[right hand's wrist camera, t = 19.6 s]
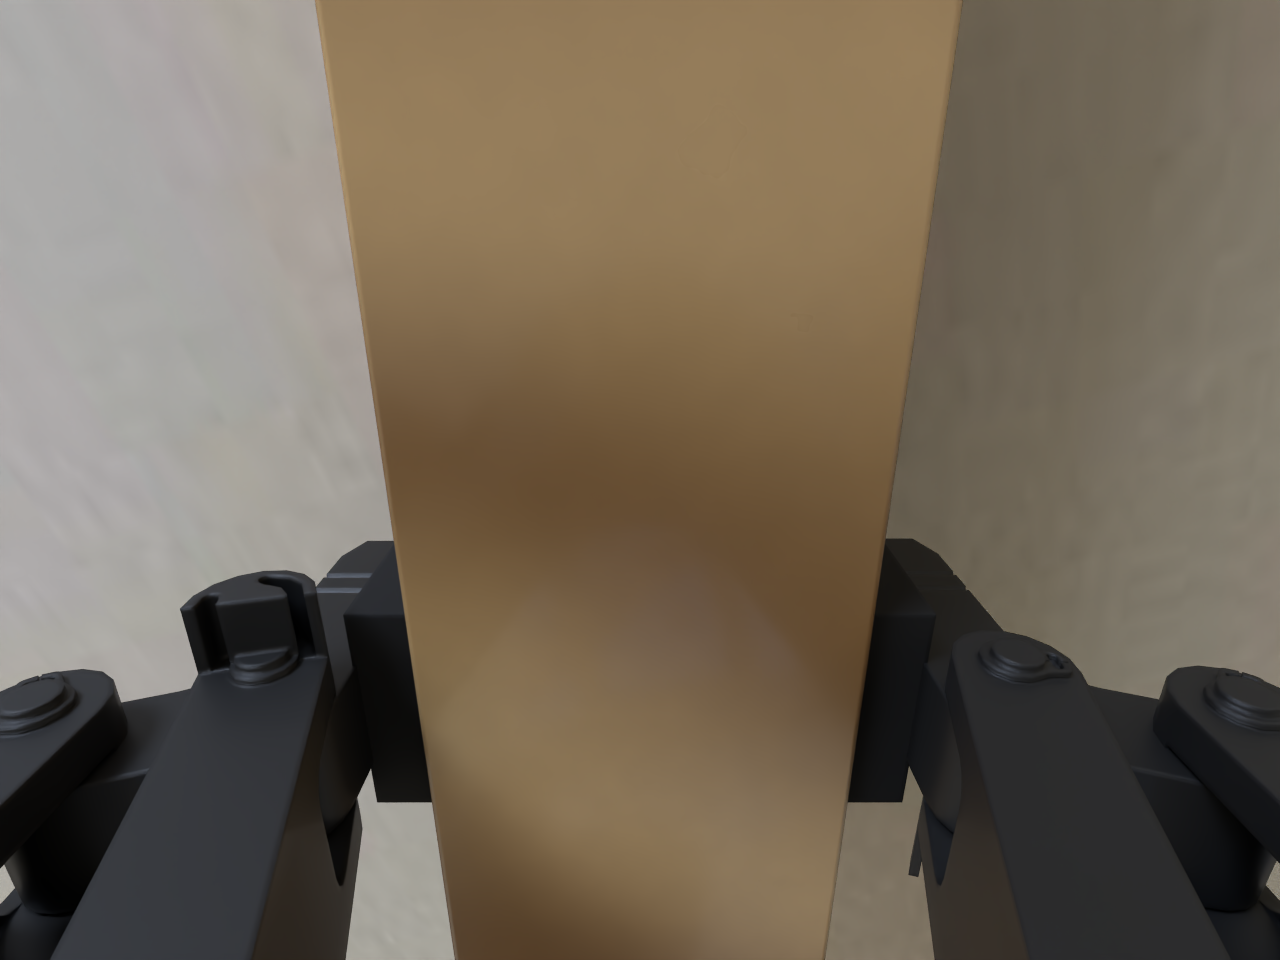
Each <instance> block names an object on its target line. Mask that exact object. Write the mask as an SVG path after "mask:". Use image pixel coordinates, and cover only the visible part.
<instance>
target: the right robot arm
mask: <svg viewBox="0 0 1280 960" xmlns="http://www.w3.org/2000/svg"><path fill="white" fill-rule="evenodd" d="M965 587H966V586H965V585H964V584H963V583H962V582H961V580H960V579H959V578H958V577H957V576H956V575H953V571H952V570H951V569H950V567H949V566H948V565H947V564H946V563H945V561H944V560H943V559H942V558H941V557H940V556H939V554H937V553H936V552H934V551H932V550H931V549H929V548H927V547H926V546H924V545H922V544H920V543H919V542H917V541H915V540H914V539H885V545H884V552H883V559H882V566H881V573H880V580H879V587H878V594H877V601H876V608H875V615H874V622H873V629H872V636H871V643H870V650H869V657H868V664H867V671H866V678H865V684H864V691H863V698H862V705H861V712H860V719H859V726H858V733H857V740H856V747H855V754H854V761H853V768H852V775H851V782H850V789H849V796H848V802H902V801H903V795H904V790H905V784H906V779H907V773H908V768H909V767H910V769H911V771H912V773H913V775H914V777H915V779H916V781H917V783H918V785H919V788H920V790H921V792H922V794H923V800H922V805H921V810H920V815H919V820H918V825H917V830H916V835H915V840H914V845H913V850H912V856H911V861H910V868H909V875H911V876H916V877H918V876H919V871H920V866H921V862H922V865H923V873H924V880H925V888H926V896H927V903H928V911H929V919H930V927H931V934H932V942H933V950H934V957H935V960H1280V900H1279V899H1278V898H1277V897H1276V896H1275V895H1274V894H1273V893H1272V892H1271V891H1270V889H1269V888H1268V887H1267V886H1266V883H1267V880H1268V878H1269V876H1270V874H1271V872H1272V870H1273V868H1274V865H1275V863H1276V861H1278V862H1279V863H1280V688H1279V687H1276V686H1274V685H1272V684H1269V683H1267V682H1265V681H1263V680H1262V679H1261V678H1258V677H1256V676H1253V675H1250V674H1247V673H1244V672H1242V674H1241V673H1239V671H1236V670H1231V669H1226V668H1214V667H1205V666H1191V667H1184V668H1178V669H1176V670H1175V671H1173V672H1172V673H1171V674H1169V675H1168V676H1167V678H1166V681H1165V684H1164V687H1163V690H1162V693H1161V696H1160V699H1154V698H1148V697H1143V696H1138V695H1133V694H1128V693H1122V692H1117V691H1112V690H1107V689H1102V688H1098V687H1094V686H1090V685H1088V684H1087V682H1086V680H1085V678H1084V676H1083V675H1082V673H1081V672H1080V670H1079V669H1078V668H1077V667H1076V666H1075V665H1074V663H1073V662H1072V661H1071V660H1070V659H1069V658H1068V657H1066V656H1065V655H1063V654H1062V653H1060V652H1059V651H1057V650H1056V649H1054V648H1053V647H1051V646H1049V645H1047V644H1044V643H1042V642H1039V641H1037V640H1034V639H1032V638H1030V637H1027V636H1023V635H1018V634H1014V633H1009V632H1005V631H1003V630H1002V629H1001V628H1000V626H999V625H998V624H997V623H996V622H995V621H994V619H993V618H992V617H991V616H990V615H989V613H988V612H987V611H986V610H985V609H984V608H983V606H982V605H981V604H980V603H979V602H978V600H977V599H976V598H975V597H974V596H973V595H972V593H971V592H970V591H969V590H966V589H965ZM180 610H181V614H182V617H183V621H184V624H185V628H186V632H187V635H188V639H189V642H190V646H191V649H192V653H193V656H194V660H195V663H196V667H197V671H198V676H197V678H196V680H195V682H194V684H193V685H192V687H191V689H187V690H183V691H179V692H174V693H169V694H164V695H159V696H153V697H148V698H143V699H138V700H133V701H128V702H123V703H121V701H120V698H119V695H118V692H117V689H116V686H115V683H114V680H113V679H112V678H110V677H109V676H108V675H106V674H105V673H104V672H101V671H94V670H86V669H79V670H70V671H62V672H52V673H47V674H42V676H41V677H39V676H35V677H32V678H29V679H26V680H23V681H21V682H19V683H18V684H17V685H15V686H13V687H10V688H8V689H6V690H3V691H1V692H0V868H1V867H2V866H3V865H5V867H6V869H7V871H8V874H9V876H10V878H11V880H12V882H13V884H14V886H15V889H14V890H13V891H12V892H11V893H10V894H9V895H8V897H7V898H6V899H5V900H4V901H3V902H2V903H1V904H0V960H345V959H346V952H347V944H348V936H349V928H350V921H351V913H352V905H353V898H354V890H355V882H356V874H357V867H358V859H359V851H360V844H361V836H362V822H361V815H360V810H359V805H358V800H357V797H358V794H359V792H360V790H361V788H362V786H363V784H364V782H365V780H366V778H367V775H368V773H369V771H370V769H371V771H372V776H373V781H374V787H375V792H376V798H377V802H432V799H431V792H430V785H429V778H428V771H427V764H426V758H425V751H424V744H423V737H422V730H421V723H420V716H419V710H418V703H417V696H416V689H415V682H414V675H413V669H412V662H411V655H410V648H409V641H408V634H407V627H406V621H405V614H404V607H403V600H402V593H401V586H400V580H399V573H398V566H397V559H396V552H395V545H394V541H367V542H365V543H363V544H362V545H360V546H358V547H357V548H355V549H353V550H352V551H350V552H348V553H347V554H345V555H343V556H342V557H341V558H340V559H339V560H338V561H337V563H336V564H335V565H334V566H333V567H332V569H331V570H330V571H329V572H328V573H327V578H323V579H322V581H321V582H320V583H319V584H318V585H317V586H315V581H313V580H312V579H310V578H309V577H308V576H306V575H305V574H302V573H297V572H292V571H287V570H285V571H262V572H256V573H251V574H246V575H241V576H237V577H234V578H231V579H228V580H225V581H222V582H220V583H217V584H214V585H212V586H210V587H208V588H207V589H205V590H203V591H201V592H199V593H198V594H196V595H194V596H193V597H192V598H191V599H190V600H189V601H188V602H187V603H186V604H185V605H183V606H182V607H181V608H180Z"/></svg>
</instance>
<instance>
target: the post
mask: <svg viewBox="0 0 1280 960" xmlns="http://www.w3.org/2000/svg"><path fill="white" fill-rule="evenodd" d="M962 3H963V0H315V4H316V11H317V18H318V25H319V32H320V38H321V45H322V52H323V59H324V66H325V73H326V80H327V86H328V93H329V100H330V107H331V114H332V121H333V127H334V134H335V141H336V148H337V155H338V162H339V169H340V175H341V182H342V189H343V196H344V203H345V210H346V216H347V223H348V230H349V237H350V244H351V251H352V258H353V264H354V271H355V278H356V285H357V292H358V299H359V306H360V312H361V319H362V326H363V333H364V340H365V347H366V353H367V360H368V367H369V374H370V381H371V388H372V395H373V401H374V408H375V415H376V422H377V429H378V436H379V443H380V449H381V456H382V463H383V470H384V477H385V484H386V490H387V497H388V504H389V511H390V518H391V525H392V532H393V538H394V545H395V552H396V559H397V566H398V573H399V580H400V586H401V593H402V600H403V607H404V614H405V621H406V627H407V634H408V641H409V648H410V655H411V662H412V669H413V675H414V682H415V689H416V696H417V703H418V710H419V716H420V723H421V730H422V737H423V744H424V751H425V758H426V764H427V771H428V778H429V785H430V792H431V799H432V806H433V812H434V819H435V826H436V833H437V840H438V847H439V853H440V860H441V867H442V874H443V881H444V888H445V895H446V901H447V908H448V915H449V922H450V929H451V936H452V943H453V949H454V956H455V960H825V956H826V949H827V942H828V935H829V928H830V921H831V914H832V907H833V900H834V893H835V886H836V879H837V872H838V865H839V858H840V851H841V844H842V837H843V830H844V823H845V817H846V810H847V803H848V796H849V789H850V782H851V775H852V768H853V761H854V754H855V747H856V740H857V733H858V726H859V719H860V712H861V705H862V698H863V691H864V684H865V678H866V671H867V664H868V657H869V650H870V643H871V636H872V629H873V622H874V615H875V608H876V601H877V594H878V587H879V580H880V573H881V566H882V559H883V552H884V545H885V539H886V532H887V525H888V518H889V511H890V504H891V497H892V490H893V483H894V476H895V469H896V462H897V455H898V448H899V441H900V434H901V427H902V420H903V413H904V406H905V400H906V393H907V386H908V379H909V372H910V365H911V358H912V351H913V344H914V337H915V330H916V323H917V316H918V309H919V302H920V295H921V288H922V281H923V274H924V267H925V261H926V254H927V247H928V240H929V233H930V226H931V219H932V212H933V205H934V198H935V191H936V184H937V177H938V170H939V163H940V156H941V149H942V142H943V135H944V128H945V122H946V115H947V108H948V101H949V94H950V87H951V80H952V73H953V66H954V59H955V52H956V45H957V38H958V31H959V24H960V17H961V10H962Z"/></svg>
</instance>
